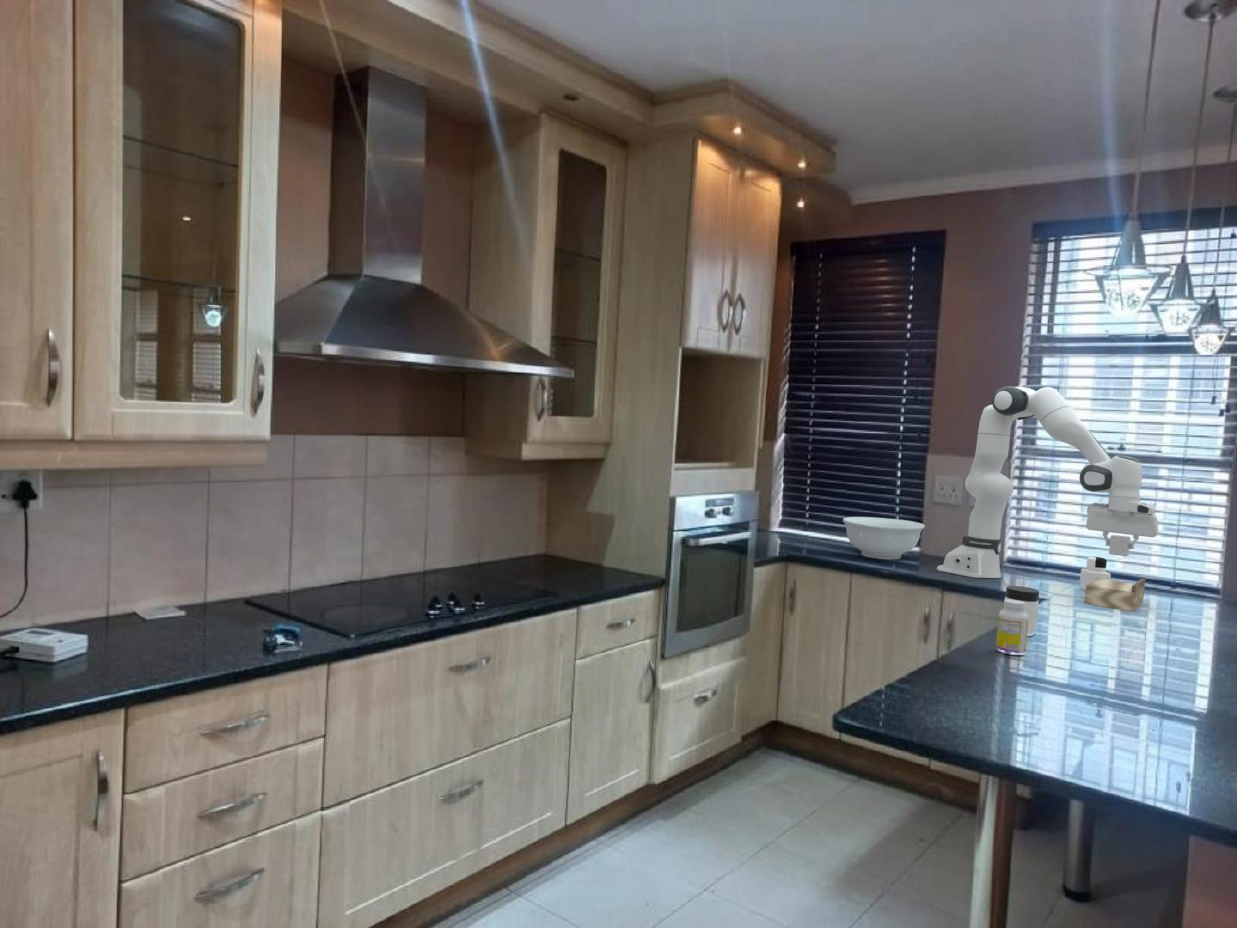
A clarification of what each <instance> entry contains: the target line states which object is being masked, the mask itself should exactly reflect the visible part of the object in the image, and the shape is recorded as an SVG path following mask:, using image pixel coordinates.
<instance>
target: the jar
mask: <svg viewBox="0 0 1237 928" xmlns="http://www.w3.org/2000/svg"><path fill="white" fill-rule="evenodd" d="M1039 598H1040V591H1039V590H1038V589H1036V588H1032V587H1026V586H1019V585H1007V586H1006V588H1005V597H1004V598H1003V599H1004V600H1007V599H1009V600H1018V601H1022V602H1025V608H1024V612H1025V613H1026V614H1027V615H1028V629H1027V633H1034V632H1035V631H1036V632H1037V624H1038V615H1039V613H1038V612H1039V603H1040V602H1039V600H1040V599H1039ZM1004 608H1005V606H1004V605H1003V609H1004Z"/></svg>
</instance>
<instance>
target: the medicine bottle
mask: <svg viewBox="0 0 1237 928" xmlns="http://www.w3.org/2000/svg"><path fill="white" fill-rule="evenodd" d="M1086 558H1087V559H1086V568H1081V569H1080V576H1079V577H1080V578H1079V589H1081V590H1083V591H1084V592H1085V591H1086V585H1087V584H1089V583H1090V582H1092V581H1093V580H1095V579H1096V578H1101V579H1108V580H1111V575H1112V574H1111V573H1110V572H1107V571H1106V570H1107V563H1108V560H1107V559H1106V558H1105V557H1101V556H1088V557H1086Z"/></svg>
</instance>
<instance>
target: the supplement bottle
mask: <svg viewBox="0 0 1237 928" xmlns="http://www.w3.org/2000/svg"><path fill="white" fill-rule="evenodd" d="M1004 606H1005V608H1004ZM1024 608H1025V602H1022V601H1018V600H1009V599H1007V600H1004V601H1003V609H1001V610H1000V611H999V613H998V617H997V629H996V630H997V633H996V640H995V641H996V643H995V644H996V645H995V648H996V647H997V648H999V649H1000V650H1005V651H1008V652H1015V653H1024V652H1025V653H1027V638H1028V636H1027V629H1028V615H1027V614H1026V613H1025V612H1024Z"/></svg>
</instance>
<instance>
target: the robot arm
mask: <svg viewBox="0 0 1237 928" xmlns="http://www.w3.org/2000/svg"><path fill="white" fill-rule="evenodd" d="M980 415H981V416H980V419H979V422H978V423H979V424H978V430H977V439H976V440H977V441H976V447H975V454H974V457H973V460H972V461H973V462H972V464H971V467H970V471H969V473H968V476H967V477H966V478H965V483H964V484H965V489H966V491H967V492H968V494H970V495H971V496H972V497H974V498H976V499H975V500H976V501H975V504H974V507H973V509H972V511H971V513H970V515H969V521H968V533H967V535H965V536H963V537H962V538H961V545H959V546H958V547H956V548H953V549H952V550H951V551H949V552H948V553H946V555H945V557H944V561H943V564H941V565H938V566H937V567H936V570H937V571H939V572H945V573H949V574H954V575H958V576H965V577H970V578H974V579H975V578H978V579H979V578H981V579H983V578H985V579H1000V578H1002V574H1001V569H1000V565H1001V564H1000V554H1001V551H1002V550H1001V549H1002V539H1001V531H1002V522H1003V516H1004V513H1005V509H1006V506H1007V502H1008V501H1009V499H1010V498H1011V497H1012V495H1013V492H1014V485H1013V481H1011V479H1010V478H1008V477H1007V476H1006V475H1004V474H1003V473H1001V472H1002V470H1003V467H1004V463H1005V462H1006V460H1007V459H1008V457H1009V450H1010V440H1011V432H1012V431H1011V429H1012V425H1013V422H1015V420H1018V421H1021V420H1024V419H1030V418H1032V417H1035V418H1036V419H1037V420H1038V422H1039V423H1040V425H1041V426H1042V428H1043V429H1044V431H1045V432H1046V433H1047V434H1048V435H1049V436H1050V437H1051V438H1052V439H1054V440H1056V441H1059V442H1061V443H1064V444H1067V445H1069V446H1071V447H1073V448H1075V449H1077V450H1078V451H1079V452H1080V453H1081V454H1082V455H1083V456H1084V458H1085V459H1086V460H1087V461H1088V462H1089V464H1088V465H1086V466H1084V467H1083V468H1082V470H1081V471H1080V474H1079V482H1080V485H1081V487H1082V488H1083V489H1084V490H1086V491H1088V492H1090V493H1100V494H1101V493H1105V494H1106V493H1107V494H1108V501H1107V502H1108V503H1105V502H1104V503H1102V502H1101V503H1100V502H1099V503H1098V502H1092V503H1090V504H1088V505H1087V508H1086V513H1087V517H1086V518H1087V520H1086V524H1085V527H1086V529H1087V530H1088V531H1096V532H1102V537H1103V539H1104V540H1105V547H1110V539H1109V538H1108V535H1109V533H1112V534H1119V535H1120V534H1121V535H1128V536H1132V539H1134V540H1132V542H1130V543H1128V549H1129V550H1134V548H1135V544H1136V543H1137V542H1138V540H1139V538H1140V537H1146V538H1147V537H1148V538H1155V537H1157V536H1158V535H1159V534H1158V533H1159V524H1158V517H1157V516H1156V515H1155V512H1156V507H1155V506H1153V505H1151V504H1147V503H1146V502H1145V503H1144V502H1142V501H1141V495H1140V489H1141V487H1142V483H1143V482H1142V480H1143V466H1142V462H1141V461H1140V460H1139V459H1138V458H1136V457H1133V456H1130V455H1129V456H1128V455H1124V454H1117V455H1115V456H1113V457H1111V455H1110V454H1109V453H1108V452H1107V450H1106V449H1105V448H1104V446H1102V444H1101V443H1100V442H1099V441H1098V440H1097V438H1096V437H1095V436H1094V435H1093V433H1091V431H1090V430H1089V429H1088V428H1087V426H1086V425H1085V424H1084V423H1083V421H1082V420H1081V418H1079V416H1078V415H1077V413H1076V412H1075V410H1074V409H1073V407H1072V406H1071V405H1070V404H1069V402H1068V401H1067V400H1066V399H1065V397H1064V396H1063V395H1062V394H1060V392H1059V391H1057V390H1056V388H1053V387H1049V386H1046V387H1041V388H1039V389H1038V390H1037V389H1035V388H1031V387H1030V388H1029V387H1026V386H1011V385H1007V386H1002V387H1001V388H998V389H997V390H996V391H995V392H994V393H993V395H992V399H991V404H990V405H987V406H985V407H984V408H983V410H982V412H981V414H980Z"/></svg>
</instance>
